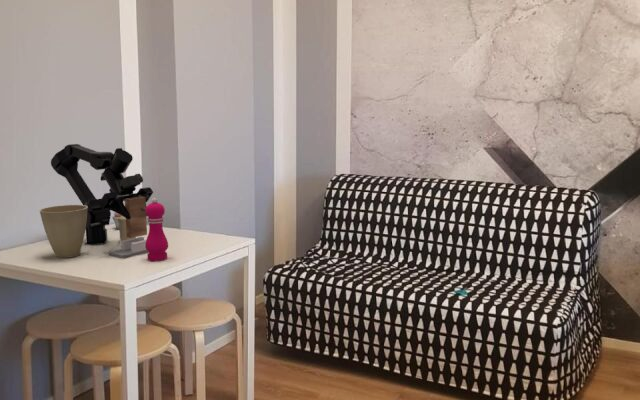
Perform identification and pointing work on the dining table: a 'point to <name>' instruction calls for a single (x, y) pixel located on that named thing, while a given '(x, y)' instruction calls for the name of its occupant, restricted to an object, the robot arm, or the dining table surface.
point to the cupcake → (117, 219)
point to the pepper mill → (156, 232)
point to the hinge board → (130, 248)
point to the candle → (123, 229)
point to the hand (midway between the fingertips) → (138, 217)
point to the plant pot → (65, 228)
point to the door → (136, 217)
